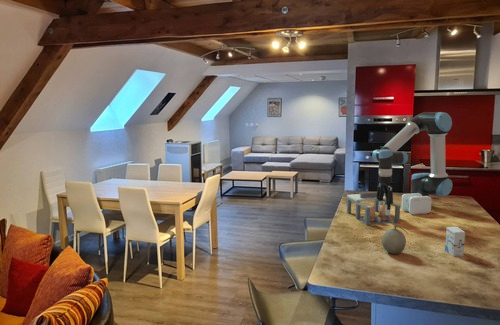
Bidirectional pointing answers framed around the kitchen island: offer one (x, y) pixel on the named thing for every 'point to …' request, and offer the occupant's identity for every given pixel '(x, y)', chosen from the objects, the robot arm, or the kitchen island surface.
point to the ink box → (455, 241)
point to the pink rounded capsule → (383, 213)
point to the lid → (365, 196)
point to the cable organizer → (416, 203)
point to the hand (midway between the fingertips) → (384, 213)
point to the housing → (367, 211)
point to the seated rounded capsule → (372, 213)
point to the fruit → (394, 240)
